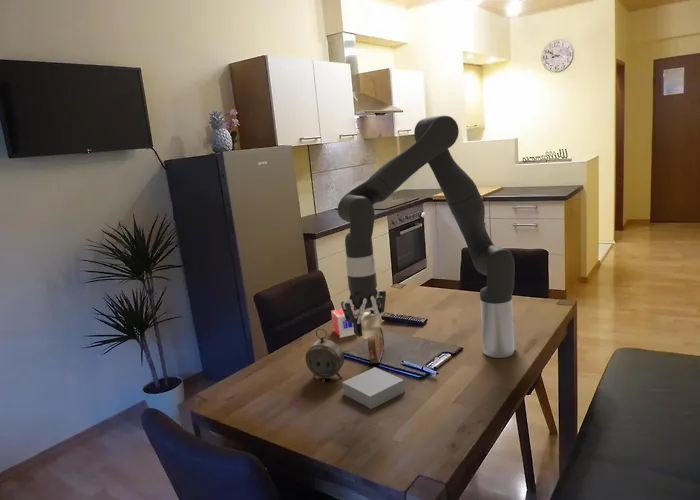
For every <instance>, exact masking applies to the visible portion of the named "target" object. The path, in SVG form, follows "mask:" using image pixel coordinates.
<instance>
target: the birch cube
mask: <svg viewBox="0 0 700 500" xmlns="http://www.w3.org/2000/svg"><path fill="white" fill-rule="evenodd" d="M361 326H362V336H361V337H360V338H362V339H365V340H368V339H369V338H370V337H372V336H375V335H377V334H380V327H381V325H380V315H379V316H378V315H375V314H372V313H370V312H369V311H364V314H363V315H362V318H361ZM353 328H354V327H353ZM354 335H355V336H357V335H356V334H355V333H354Z"/></svg>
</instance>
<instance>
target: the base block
mask: <svg viewBox="0 0 700 500" xmlns="http://www.w3.org/2000/svg"><path fill="white" fill-rule="evenodd" d="M342 390H343V392H342V393H343V395H344V396H347V398H350V399H352V400H354V401H355V402H358V403H359V404H361V405H363V406H364V407H366V408H369V409H370V410H373V409H374V408H376V407H378V406H380V405H382V404H384V403H386V402H388V401H390V400H392V399H395V398H397V397H398V396H399V395H401V394H403V393H405V392H406V391H405V390H406V389H405V379H403V378H400V377H398V376H396V375H394V374H391V373H390V372H387V371H384V370H382V369H380V368H378V367H375V366H373V367H372V368H370V369H368V370H366V371H364V372H362V373H359V374H357V375H354V376H353V377H351V378H349V379H346V380H344V381H343V382H342Z"/></svg>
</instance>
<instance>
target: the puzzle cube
mask: <svg viewBox="0 0 700 500" xmlns="http://www.w3.org/2000/svg"><path fill="white" fill-rule="evenodd" d="M352 308H353V306H352ZM352 308H351V309H352ZM330 312H331V321H332V328H333V329H332V330H333V332H334V333H335V334H336V335H337V336H338V338H346V337H350V336H353V335H354V328H353V323H350V322H348V321H346V318H345V315H344V312H343V309H342V307H341V308H338V309H333V310H330Z"/></svg>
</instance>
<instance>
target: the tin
mask: <svg viewBox="0 0 700 500" xmlns="http://www.w3.org/2000/svg"><path fill="white" fill-rule="evenodd" d="M383 348H384V349H385V340H384V333H383V329H382V327H381V326H380V334H377V335H375V336H372V337H370V338H367V350H368V356H369V360H370V362H371V363H372V364H380V363H379V358H380V355H381V352H382V350H383Z"/></svg>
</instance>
